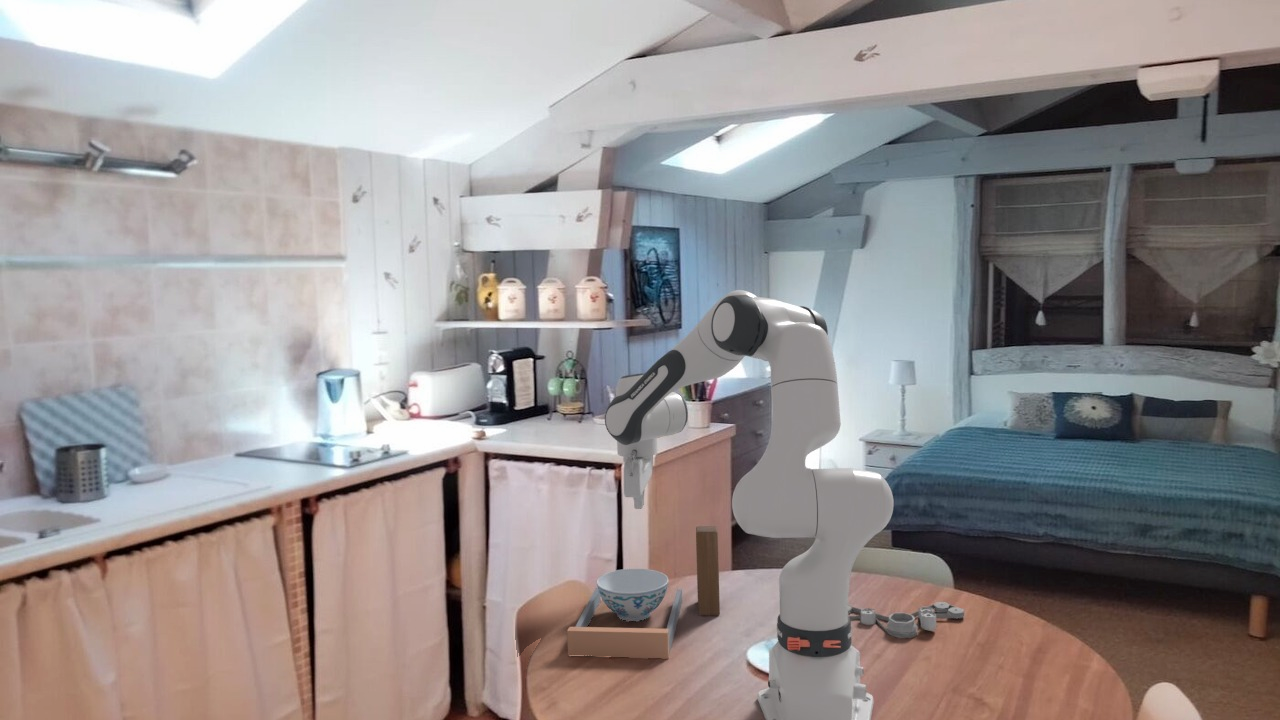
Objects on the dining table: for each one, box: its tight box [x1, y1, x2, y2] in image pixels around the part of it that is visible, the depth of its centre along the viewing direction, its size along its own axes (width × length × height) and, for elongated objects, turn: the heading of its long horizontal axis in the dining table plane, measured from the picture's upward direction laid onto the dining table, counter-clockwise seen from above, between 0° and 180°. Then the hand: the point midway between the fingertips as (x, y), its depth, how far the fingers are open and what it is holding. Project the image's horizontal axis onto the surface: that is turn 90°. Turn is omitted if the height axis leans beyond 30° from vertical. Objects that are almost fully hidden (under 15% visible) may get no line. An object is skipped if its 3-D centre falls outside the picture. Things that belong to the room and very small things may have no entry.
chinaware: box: [596, 568, 669, 622], centre depth 191 cm, size 15×15×8 cm
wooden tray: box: [566, 587, 683, 660], centre depth 184 cm, size 29×19×5 cm, turn 172°
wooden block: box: [695, 525, 721, 616], centre depth 193 cm, size 9×4×18 cm, turn 176°
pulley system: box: [848, 601, 965, 639], centre depth 182 cm, size 27×5×15 cm
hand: (639, 507), depth 202 cm, fingers closed
